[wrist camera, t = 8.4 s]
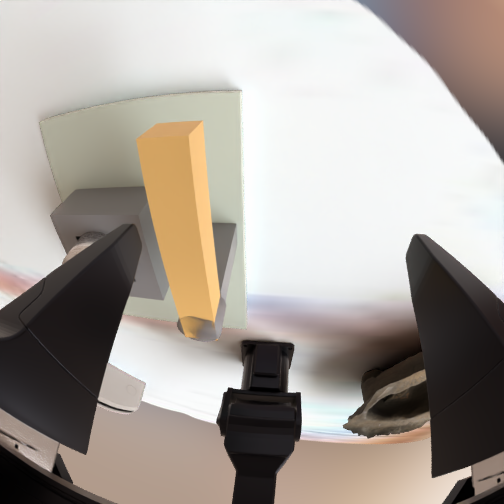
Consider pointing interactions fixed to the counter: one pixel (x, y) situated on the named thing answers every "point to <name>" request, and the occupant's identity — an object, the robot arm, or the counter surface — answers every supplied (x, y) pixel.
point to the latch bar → (184, 223)
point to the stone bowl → (392, 400)
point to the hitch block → (134, 194)
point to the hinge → (120, 391)
